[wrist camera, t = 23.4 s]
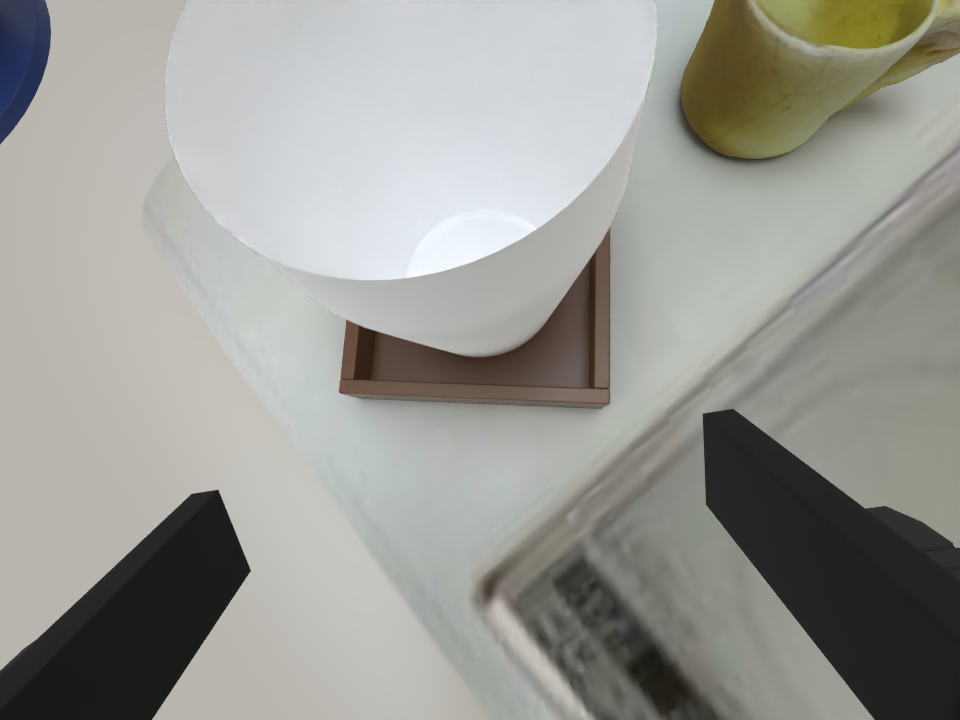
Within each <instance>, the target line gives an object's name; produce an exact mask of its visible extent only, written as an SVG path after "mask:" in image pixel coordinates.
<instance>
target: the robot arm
mask: <svg viewBox="0 0 960 720" xmlns="http://www.w3.org/2000/svg"><path fill="white" fill-rule="evenodd" d="M703 430H704V458H705V486H706V505H707V506H708V508H709V509H710V510H711V511H712V513H713V514H714V515H715V516H716V518H717V519H718V520H719V522H720V523H721V524H722V525H723V527H724V528H725V529H726V531H727V532H728V533H729V534H730V536H731V537H732V538H733V539H734V541H735V542H736V543H737V545H738V546H739V547H740V548H741V550H742V551H743V552H744V553H745V555H746V556H747V557H748V559H749V560H750V561H751V562H752V564H753V565H754V566H755V568H756V569H757V570H758V571H759V573H760V574H761V575H762V576H763V578H764V579H765V580H766V582H767V583H768V584H769V585H770V587H771V588H772V589H773V590H774V592H775V593H776V594H777V596H778V597H779V598H780V599H781V601H782V602H783V603H784V605H785V606H786V607H787V608H788V610H789V611H790V612H791V613H792V615H793V616H794V617H795V619H796V620H797V621H798V622H799V624H800V625H801V626H802V627H803V629H804V630H805V631H806V633H807V634H808V635H809V636H810V638H811V639H812V640H813V642H814V643H815V644H816V645H817V647H818V648H819V649H820V650H821V652H822V653H823V654H824V656H825V657H826V658H827V659H828V661H829V662H830V663H831V664H832V666H833V667H834V668H835V670H836V671H837V672H838V673H839V675H840V676H841V677H842V679H843V680H844V681H845V682H846V684H847V685H848V686H849V687H850V689H851V690H852V691H853V693H854V694H855V695H856V696H857V698H858V699H859V700H860V701H861V703H862V704H863V705H864V707H865V708H866V709H867V710H868V712H869V713H870V714H871V716H872V717H873V718H874V719H875V720H960V548H955V547H954V546H953V543H952V542H950V541H949V540H947V539H946V538H944V537H943V536H942V535H940V534H939V533H937V532H936V531H934V530H933V529H931V528H930V527H928V526H927V525H926V524H924V523H923V522H921V521H918V520H916V519H914V518H911V517H909V516H907V515H905V514H902V513H900V512H898V511H895V510H893V509H891V508H888V507H886V506H882V507H875V508H868V509H865V508H864V507H862V506H861V505H860V504H858V503H857V502H856V501H854V500H853V499H852V498H850V497H849V496H848V495H846V494H845V493H844V492H842V491H841V490H840V489H838V488H837V487H836V486H834V485H833V484H832V483H830V482H829V481H828V480H826V479H825V478H824V477H823V476H821V475H820V474H819V473H817V472H816V471H815V470H813V469H812V468H811V467H809V466H808V465H807V464H805V463H804V462H803V461H801V460H800V459H799V458H797V457H796V456H795V455H793V454H792V453H791V452H789V451H788V450H787V449H785V448H784V447H783V446H781V445H780V444H779V443H777V442H776V441H775V440H774V439H772V438H771V437H770V436H768V435H767V434H766V433H764V432H763V431H762V430H760V429H759V428H758V427H756V426H755V425H754V424H752V423H751V422H750V421H748V420H747V419H746V418H744V417H743V416H742V415H740V414H739V413H738V412H736V411H735V410H734V409H730V410H724V411H717V412H711V413H705V414H703ZM250 571H251V570H250V568H249V565H248V563H247V560H246V558H245V555H244V553H243V550H242V548H241V545H240V543H239V540H238V538H237V535H236V533H235V530H234V528H233V525H232V523H231V520H230V518H229V515H228V513H227V510H226V508H225V505H224V503H223V500H222V498H221V495H220V493H219V490H214V491H208V492H202V493H195V494H191V495H190V496H189V497H188V498H187V499H186V500H185V501H184V502H183V503H182V504H181V505H180V506H179V507H178V508H176V509H175V510H174V511H173V512H172V513H171V514H170V515H169V516H168V517H167V518H166V519H165V520H164V521H163V522H161V523H160V524H159V525H158V526H157V527H156V528H155V529H154V530H153V531H152V532H151V533H150V534H149V535H148V536H147V537H146V538H144V539H143V540H142V541H141V542H140V543H139V544H138V545H137V546H136V547H135V548H134V549H133V550H132V551H131V552H130V553H129V554H127V555H126V556H125V557H124V558H123V559H122V560H121V561H120V562H119V563H118V564H117V565H116V566H115V567H114V568H112V569H111V570H110V571H109V572H108V573H107V574H106V575H105V576H104V577H103V578H102V579H101V580H100V581H99V582H98V583H97V584H95V585H94V586H93V587H92V588H91V589H90V590H89V591H88V592H87V593H86V594H85V595H84V596H83V597H82V598H81V599H80V600H78V601H77V602H76V603H75V604H74V605H73V606H72V607H71V608H70V609H69V610H68V611H67V612H66V613H65V614H63V615H62V616H61V617H60V618H59V619H58V620H57V621H56V622H55V623H54V624H53V625H52V626H51V627H50V628H49V629H48V630H46V632H44V633H43V634H42V635H41V636H40V637H39V638H38V639H37V640H35V641H34V642H33V643H31V644H30V645H28V646H27V647H26V648H24V649H23V650H22V651H21V652H20V653H19V654H18V655H17V656H16V657H15V658H13V659H12V660H11V661H10V662H9V663H8V664H7V665H6V666H5V667H4V668H3V669H2V670H1V671H0V720H152V719H153V717H154V716H155V714H156V713H157V711H158V710H159V708H160V707H161V705H162V704H163V702H164V701H165V699H166V698H167V696H168V695H169V693H170V692H171V690H172V688H173V687H174V685H175V684H176V683H177V681H178V680H179V678H180V676H181V675H182V674H183V672H184V670H185V669H186V668H187V666H188V664H189V663H190V662H191V660H192V659H193V657H194V655H195V654H196V652H197V651H198V649H199V648H200V646H201V645H202V643H203V642H204V640H205V639H206V637H207V636H208V634H209V633H210V631H211V630H212V628H213V627H214V625H215V624H216V622H217V621H218V619H219V618H220V616H221V615H222V613H223V612H224V610H225V609H226V607H227V606H228V604H229V603H230V601H231V600H232V598H233V597H234V595H235V594H236V592H237V591H238V589H239V588H240V586H241V585H242V583H243V582H244V580H245V578H246V577H247V576H248V574H249V573H250Z"/></svg>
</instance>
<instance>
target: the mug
mask: <svg viewBox="0 0 960 720" xmlns="http://www.w3.org/2000/svg"><path fill="white" fill-rule="evenodd" d="M959 53H960V0H715V1H714V4H713V7H712V10H711V14H710V16H709V18H708V20H707V22H706V26H705V28H704V30H703V33H702V35H701V37H700V39H699V41H698V43H697V45H696V48H695V50H694V52H693V54H692V56H691V58H690V60H689V62H688V65H687V67H686V69H685V71H684V75H683V79H682V83H681V95H680V96H681V104H682V106H683V109H684V113H685V116H686V119H687V122H688V124H689V125H690V126H691V127H692V128H693V129H694V130H695V132H696V133H697V135H698V136H699V137H700V138H701V139H702V140H703V141H704V142H705V143H706V144H707V145H708V146H709V147H710V148H711V149H712V150H714V151H716V152H718V153H720V154H722V155H725V156H731V157H740V158H752V159H761V158H768V157H773V156H778V155H781V154H784V153H787V152H789V151H792V150H794V149H796V148H797V147H799V146H800V145H801V144H803V143H804V142H806V141H807V140H808V139H809V138H810V137H811V136H812V135H813V134H814V133H815V132H816V131H817V130H818V129H819V128H820V127H821V126H822V125H823V124H824V123H825V122H826V121H827V119H828V118H829V117H830V116H831V115H832V114H834V113H836V112H838V111H840V110H842V109H844V108H846V107H847V106H849V105H851V104H852V103H854V102H855V101H857V100H860V99H862V98H863V97H865V96H867V95H869V94H872V93H873V92H875V91H877V90H879V89H880V88H882V87H884V86H887V85H891V84H896V83H898V82H901V81H903V80H905V79H907V78H909V77H912V76H914V75H916V74H919V73H920V72H922V71H923V70H925V69H927V68H929V67H931V66H932V65H935V64H938V63H942V62H944V61H945V60H947V59H949V58H951V57H953V56H955V55H957V54H959Z"/></svg>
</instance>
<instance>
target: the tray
mask: <svg viewBox="0 0 960 720" xmlns="http://www.w3.org/2000/svg"><path fill="white" fill-rule="evenodd" d="M609 388H610V228H609V229H608V231H607V233H606V235H605V236H604V238H603V240H602V242H601V244H600V245H599V246H598V248H597V249H596V251H595V252H594V254H593V255H592V257H591V258H590V260H589V261H588V263H587V264H586V266H585V267H584V268H583V270H582V271H581V273H580V274H579V276H578V277H577V278H576V280H575V281H574V283H573V284H572V286H571V287H570V289H569V290H568V291H567V293H566V294H565V296H564V297H563V299H562V300H561V301H560V303H559V304H558V306H557V307H556V309H555V310H554V311H553V313H552V314H551V316H550V317H549V319H548V320H547V321H546V323H545V324H544V326H543V327H542V328H541V329H540V330H539V332H538V333H537V334H535V335H534V336H533V337H532V338H531V339H530V340H528V341H527V342H526V343H524V344H523V345H521V346H519V347H518V348H516V349H514V350H511V351H509V352H506V353H503V354H500V355H496V356H490V357H468V356H463V355H458V354H455V353H451V352H447V351H444V350H440V349H437V348H433V347H430V346H426V345H422V344H419V343H415V342H412V341H408V340H405V339H401V338H398V337H394V336H391V335H388V334H384V333H381V332H378V331H374V330H371V329H368V328H365V327H362V326H360V325H358V324H355V323H353V322H351V321H348V320H347V322H346V331H345V341H344V350H343V359H342V369H341V380H340V388H339V393H341V394H345V395H349V396H353V397H357V398H361V399H384V400H408V401H432V402H456V403H479V404H503V405H527V406H551V407H574V408H598V409H601V408H603V407H604V406H606V405H608V404H609V403H610V390H609Z"/></svg>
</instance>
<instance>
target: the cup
mask: <svg viewBox="0 0 960 720" xmlns="http://www.w3.org/2000/svg"><path fill="white" fill-rule="evenodd" d="M656 39H657V11H656V1H655V0H187V1H186V4H185V6H184V8H183V10H182V12H181V15H180V17H179V20H178V23H177V25H176V28H175V31H174V34H173V38H172V42H171V45H170V49H169V54H168V59H167V65H166V72H165V84H164V107H165V117H166V125H167V131H168V135H169V139H170V143H171V147H172V150H173V153H174V156H175V158H176V161H177V164H178V166H179V169H180V171H181V173H182V174H183V176H184V178H185V180H186V182H187V184H188V186H189V188H190V189H191V191H192V192H193V193H194V195H195V196H196V198H197V199H198V201H199V202H200V204H201V205H202V206H203V207H204V208H205V209H206V211H207V212H208V213H209V214H210V215H211V216H212V218H213V219H214V220H215V221H216V222H218V223H219V224H220V225H221V226H222V227H223V228H224V229H225V230H226V231H227V232H229V233H230V234H231V235H232V236H234V237H235V238H236V239H238V240H239V241H240V242H241V243H243V244H244V245H245V246H247V247H248V248H249V249H251V250H252V251H253V252H255V253H256V254H257V255H258V256H260V257H261V258H262V259H264V260H265V261H266V262H268V263H269V264H270V265H271V266H273V267H274V268H275V269H276V270H278V271H279V272H280V273H281V274H283V275H284V276H285V277H286V278H288V279H289V280H290V281H291V282H292V283H293V284H294V285H296V286H297V287H298V288H299V289H300V290H301V291H302V292H303V293H305V294H306V295H307V296H308V297H309V298H311V299H312V300H313V301H315V302H316V303H318V304H319V305H320V306H322V307H323V308H325V309H327V310H329V311H330V312H332V313H334V314H336V315H337V316H340V317H342V318H344V319H346V320H348V321H351V322H353V323H355V324H358V325H360V326H362V327H365V328H368V329H371V330H374V331H378V332H381V333H384V334H388V335H391V336H394V337H398V338H401V339H405V340H408V341H412V342H415V343H419V344H422V345H426V346H430V347H433V348H437V349H440V350H444V351H447V352H451V353H455V354H458V355H463V356H468V357H490V356H496V355H500V354H503V353H506V352H509V351H511V350H514V349H516V348H518V347H519V346H521V345H523V344H524V343H526V342H527V341H528V340H530V339H531V338H532V337H533V336H534V335H535V334H537V333H538V332H539V330H540V329H541V328H542V327H543V326H544V324H545V323H546V321H547V320H548V319H549V317H550V316H551V314H552V313H553V311H554V310H555V309H556V307H557V306H558V304H559V303H560V301H561V300H562V299H563V297H564V296H565V294H566V293H567V291H568V290H569V289H570V287H571V286H572V284H573V283H574V281H575V280H576V278H577V277H578V276H579V274H580V273H581V271H582V270H583V268H584V267H585V266H586V264H587V263H588V261H589V260H590V258H591V257H592V255H593V254H594V252H595V251H596V249H597V248H598V246H599V245H600V244H601V242H602V240H603V238H604V236H605V235H606V233H607V231H608V229H609V228H610V226H611V224H612V222H613V220H614V218H615V216H616V213H617V211H618V209H619V206H620V204H621V202H622V199H623V196H624V193H625V190H626V187H627V183H628V180H629V175H630V170H631V165H632V160H633V154H634V149H635V143H636V139H637V134H638V129H639V125H640V120H641V116H642V112H643V107H644V103H645V99H646V95H647V90H648V86H649V82H650V77H651V72H652V67H653V62H654V57H655V52H656Z"/></svg>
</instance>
